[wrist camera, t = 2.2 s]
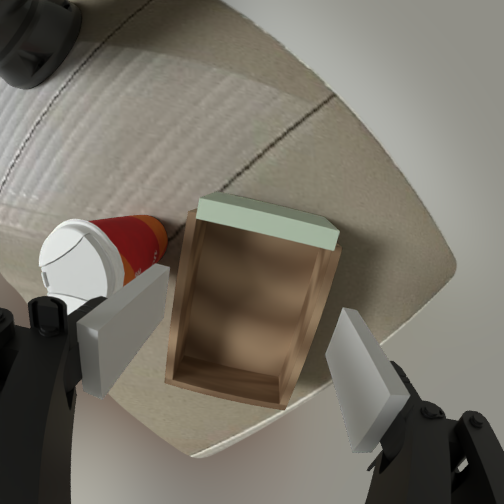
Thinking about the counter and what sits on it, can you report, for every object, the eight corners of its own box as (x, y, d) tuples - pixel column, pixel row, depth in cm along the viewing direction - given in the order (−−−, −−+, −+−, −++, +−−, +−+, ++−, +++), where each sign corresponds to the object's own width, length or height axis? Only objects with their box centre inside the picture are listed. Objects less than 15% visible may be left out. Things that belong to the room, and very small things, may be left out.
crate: (205, 205, 30) (188, 211, 23) (327, 234, 30) (342, 247, 23) (180, 352, 34) (164, 382, 28) (283, 375, 34) (284, 410, 27)
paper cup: (124, 276, 32) (52, 327, 18) (110, 212, 30) (25, 232, 17) (184, 268, 31) (129, 325, 18) (171, 198, 30) (100, 210, 16)
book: (216, 190, 29) (197, 197, 21) (325, 216, 29) (342, 231, 21) (212, 206, 29) (193, 217, 22) (320, 231, 29) (336, 251, 22)
